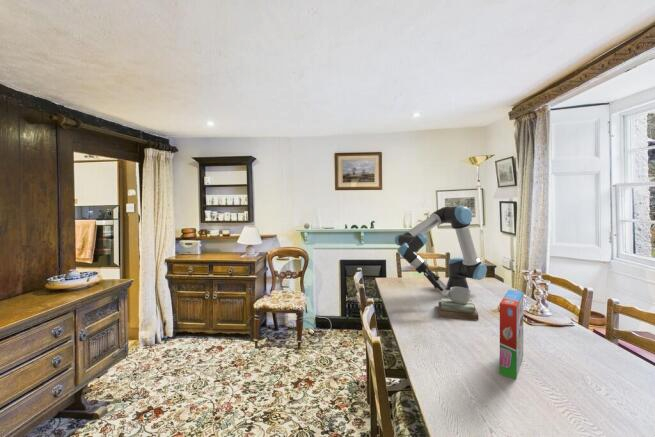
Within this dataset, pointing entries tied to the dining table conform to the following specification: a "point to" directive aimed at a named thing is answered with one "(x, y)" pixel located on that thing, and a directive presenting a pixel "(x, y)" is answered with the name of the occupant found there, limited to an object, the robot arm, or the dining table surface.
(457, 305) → the block stand
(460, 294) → the teacup
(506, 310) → the game box
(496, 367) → the dining table surface
